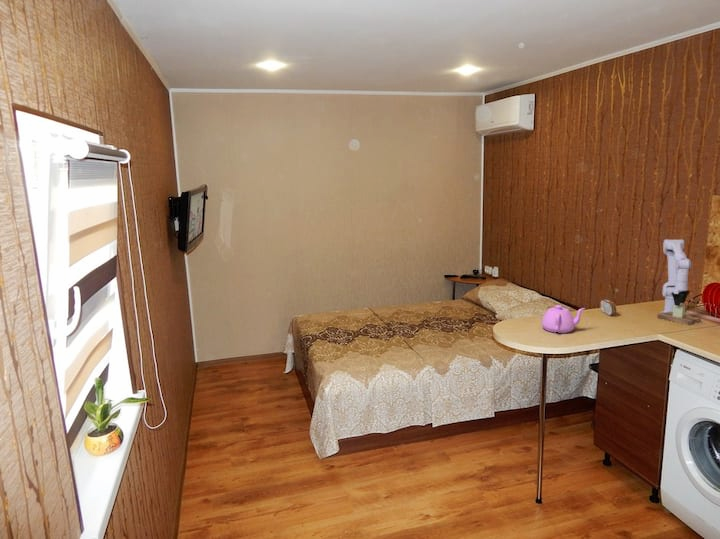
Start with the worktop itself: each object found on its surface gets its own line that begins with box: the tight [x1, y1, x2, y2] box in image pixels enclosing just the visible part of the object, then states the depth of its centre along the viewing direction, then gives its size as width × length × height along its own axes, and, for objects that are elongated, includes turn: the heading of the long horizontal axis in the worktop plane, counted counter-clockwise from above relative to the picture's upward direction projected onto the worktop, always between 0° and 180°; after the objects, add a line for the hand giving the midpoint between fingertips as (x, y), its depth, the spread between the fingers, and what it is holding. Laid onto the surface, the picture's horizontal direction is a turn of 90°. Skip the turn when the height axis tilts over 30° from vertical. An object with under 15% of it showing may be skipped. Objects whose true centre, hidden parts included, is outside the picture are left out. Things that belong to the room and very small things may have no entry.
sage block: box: [673, 304, 686, 318], centre depth 268 cm, size 4×4×6 cm
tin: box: [600, 298, 617, 317], centre depth 286 cm, size 15×3×8 cm, turn 179°
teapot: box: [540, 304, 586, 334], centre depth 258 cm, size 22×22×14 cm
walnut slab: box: [657, 312, 701, 326], centre depth 268 cm, size 11×17×3 cm, turn 23°
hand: (679, 304), depth 267 cm, fingers open, 7 cm apart
